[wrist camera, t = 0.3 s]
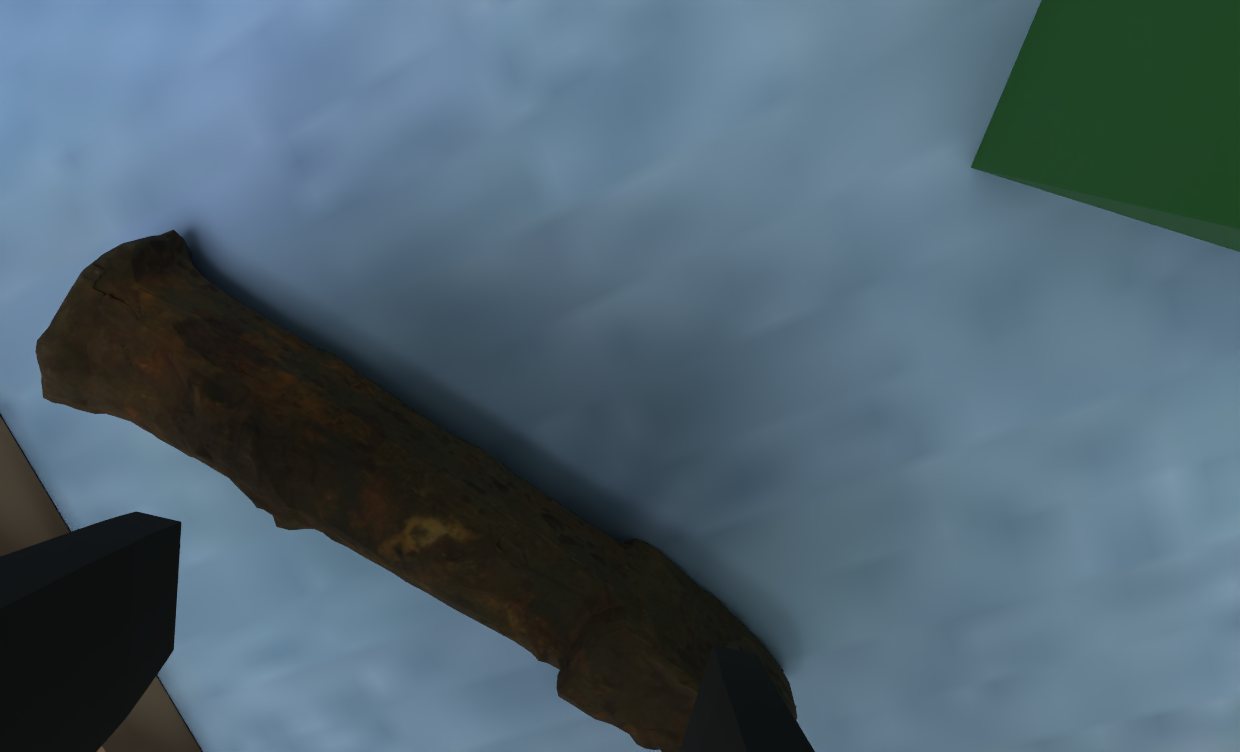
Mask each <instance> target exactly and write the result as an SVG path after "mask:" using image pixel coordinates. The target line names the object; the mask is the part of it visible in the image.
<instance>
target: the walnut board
mask: <svg viewBox="0 0 1240 752" xmlns="http://www.w3.org/2000/svg"><path fill="white" fill-rule="evenodd" d="M67 533H70V531H69V530H68V528H67V526H66V525H65V523H64V521H63V520H62V518H61V516H60V515H59V513H58V511H57V510H56V508H55V506H54V505H53V503H52V501H51V500H50V498H49V496H48V495H47V493H46V491H45V490H44V488H43V486H42V485H41V483H40V481H39V480H38V478H37V476H36V475H35V473H34V471H33V470H32V468H31V466H30V465H29V463H28V461H27V460H26V458H25V456H24V455H23V453H22V451H21V450H20V448H19V446H18V445H17V443H16V441H15V440H14V438H13V436H12V435H11V433H10V431H9V430H8V428H7V426H6V425H5V423H4V421H3V420H2V418H1V416H0V557H1V556H3V555H6V554H9V553H12V552H15V551H18V550H21V549H24V548H27V547H29V546H32V545H35V544H38V543H41V542H44V541H47V540H49V539H52V538H55V537H58V536H61V535H64V534H67ZM97 752H202V751H201V750H200V748H199V746H198V745H197V743H196V741H195V740H194V738H193V736H192V735H191V733H190V731H189V730H188V728H187V726H186V725H185V723H184V721H183V720H182V718H181V716H180V715H179V713H178V711H177V710H176V708H175V706H174V705H173V703H172V701H171V700H170V698H169V696H168V695H167V693H166V691H165V690H164V688H163V686H162V685H161V683H160V681H159V680H158V678H157V676H156V677H155V678H154V680H153V681H152V683H151V684H150V686H149V687H148V689H147V690H146V691H145V693H144V694H143V696H142V697H141V698H140V700H139V701H138V702H137V704H136V705H135V707H134V708H133V709H132V711H131V712H130V714H129V715H128V716H127V718H126V719H125V720H124V721H123V722H122V723H121V725H120V726H119V727H118V728H117V729H116V730H115V732H114V733H113V734H112V735H111V736H110V737H109V738H108V739H107V741H106V742H105V743H104V744H103V745H102V746H101V747H100V748H99V750H98V751H97Z"/></svg>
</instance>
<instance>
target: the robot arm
mask: <svg viewBox="0 0 1240 752" xmlns="http://www.w3.org/2000/svg"><path fill="white" fill-rule="evenodd" d="M180 536H181V522H180V521H175V520H171V519H167V518H162V517H158V516H153V515H149V514H145V513H140V512H133V513H129V514H126V515H122V516H118V517H115V518H112V519H108V520H105V521H102V522H99V523H96V524H93V525H90V526H87V527H84V528H81V529H78V530H75V531H72V532H70V533H67V534H64V535H61V536H58V537H55V538H52V539H49V540H47V541H44V542H41V543H38V544H35V545H32V546H29V547H27V548H24V549H21V550H18V551H15V552H12V553H9V554H6V555H3V556H1V557H0V752H97V751H98V750H99V748H100V747H101V746H102V745H103V744H104V743H105V742H106V741H107V739H108V738H109V737H110V736H111V735H112V734H113V733H114V732H115V730H116V729H117V728H118V727H119V726H120V725H121V723H122V722H123V721H124V720H125V719H126V718H127V716H128V715H129V714H130V712H131V711H132V709H133V708H134V707H135V705H136V704H137V702H138V701H139V700H140V698H141V697H142V696H143V694H144V693H145V691H146V690H147V689H148V687H149V686H150V684H151V683H152V681H153V680H154V678H155V677H156V675H157V674H158V672H159V671H160V669H161V668H162V666H163V665H164V663H165V662H166V661H167V659H168V658H169V656H170V655H171V653H172V652H173V650H174V635H175V619H176V602H177V586H178V569H179V553H180ZM680 752H815V751H814V749H813V748H812V746H811V744H810V743H809V741H808V740H807V738H806V736H805V735H804V733H803V731H802V730H801V728H800V726H799V724H798V723H797V721H796V719H795V718H794V716H793V714H792V713H791V711H790V709H789V707H788V706H787V704H786V702H785V701H784V699H783V697H782V695H781V694H780V692H779V690H778V688H777V687H776V685H775V683H774V682H773V680H772V678H771V676H770V675H769V673H768V671H767V670H766V668H765V666H764V664H763V663H762V661H761V659H760V658H759V656H758V654H753V653H749V652H745V651H740V650H736V649H732V648H727V647H723V646H719V645H714V644H713V645H712V648H711V652H710V655H709V658H708V661H707V665H706V668H705V671H704V674H703V678H702V681H701V684H700V687H699V690H698V694H697V697H696V700H695V703H694V707H693V710H692V713H691V716H690V720H689V723H688V726H687V729H686V733H685V736H684V739H683V742H682V746H681V749H680Z"/></svg>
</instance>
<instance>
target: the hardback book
mask: <svg viewBox="0 0 1240 752" xmlns="http://www.w3.org/2000/svg"><path fill="white" fill-rule="evenodd" d="M971 168H975V169H978V170H981V171H984V172H987V173H990V174H994V175H997V176H1000V177H1003V178H1006V179H1010V180H1013V181H1016V182H1019V183H1022V184H1026V185H1029V186H1032V187H1035V188H1038V189H1041V190H1045V191H1048V192H1051V193H1054V194H1057V195H1061V196H1064V197H1067V198H1070V199H1073V200H1076V201H1080V202H1083V203H1086V204H1089V205H1092V206H1096V207H1099V208H1102V209H1105V210H1108V211H1112V212H1115V213H1118V214H1121V215H1124V216H1127V217H1131V218H1134V219H1137V220H1140V221H1143V222H1147V223H1150V224H1153V225H1156V226H1159V227H1163V228H1166V229H1169V230H1172V231H1175V232H1178V233H1182V234H1185V235H1188V236H1191V237H1194V238H1198V239H1201V240H1204V241H1207V242H1210V243H1213V244H1217V245H1220V246H1223V247H1226V248H1229V249H1233V250H1236V251H1239V252H1240V0H1042V1H1041V3H1040V6H1039V8H1038V11H1037V13H1036V15H1035V18H1034V20H1033V22H1032V25H1031V27H1030V29H1029V32H1028V34H1027V36H1026V39H1025V41H1024V44H1023V46H1022V48H1021V51H1020V53H1019V55H1018V58H1017V60H1016V62H1015V65H1014V67H1013V69H1012V72H1011V74H1010V77H1009V79H1008V81H1007V84H1006V86H1005V88H1004V91H1003V93H1002V95H1001V98H1000V100H999V102H998V105H997V107H996V110H995V112H994V114H993V117H992V119H991V121H990V124H989V126H988V128H987V131H986V133H985V135H984V138H983V140H982V143H981V145H980V147H979V150H978V152H977V154H976V157H975V159H974V161H973V164H972V166H971Z"/></svg>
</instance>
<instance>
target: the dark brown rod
mask: <svg viewBox="0 0 1240 752" xmlns="http://www.w3.org/2000/svg"><path fill="white" fill-rule="evenodd" d="M36 354H37V360H38V364H39V367H40V371H41V375H42V378H41V383H42V389H43V398H45V399H47V400H49V401H51V402H54V403H59V404H64V405H67V406H70V407H72V408H75V409H78V410H82V411H86V412H90V413H94V414H105V413H106V414H109V415H112V416H115V417H119V418H122V419H125V420H128V421H131V422H133V423H134V424H136V425H138V426H139V427H141V428H142V429H144V430H146V431H148V432H150V433H152V434H153V435H155V436H156V437H157V438H158V439H160V440H162V441H164V442H166V443H167V444H169V445H171V446H173V447H175V448H177V449H178V450H180V451H182V452H183V453H185V454H186V455H188V456H190V457H194V458H196V459H198V460H199V461H201V462H203V463H205V464H206V465H208V466H210V467H211V468H213V469H215V470H216V471H218V472H220V473H221V474H223V475H225V476H227V477H228V478H230V480H231V481H232V482H233V483H234V484H235V485H236V486H237V487H238V488H239V489H240V490H241V491H242V492H243V493H244V494H245V495H246V496H247V497H248V498H249V499H250V500H251V501H252V502H253V503H254V505H255V506H256V507H257V508H260V509H264V510H265V511H267V512H268V513H270V514H271V515H273V517H274V520H275V523H276V526H277V527H280V528H284V529H288V530H298V529H316V530H318V531H320V532H323V533H324V534H325V535H327V536H328V537H329V538H331V539H332V540H334V541H336V542H338V543H340V544H342V545H344V546H347V547H349V548H350V549H352V550H353V551H355V552H357V553H358V554H360V555H362V556H363V557H365V558H367V559H369V560H371V561H372V562H374V563H376V564H378V565H380V566H382V567H383V568H385V569H387V570H389V571H391V572H393V573H394V574H395V575H397V576H398V577H400V578H401V579H403V580H404V581H406V582H408V583H410V584H411V585H413V586H415V587H417V588H419V589H421V590H423V591H424V592H426V593H428V594H430V595H432V596H433V597H435V598H437V599H438V600H440V601H442V602H443V603H445V604H447V605H448V606H450V607H452V608H453V609H455V610H457V611H459V612H461V613H463V614H465V615H466V616H468V617H470V618H472V619H474V620H476V621H478V622H480V623H481V624H483V625H485V626H487V627H489V628H491V629H493V630H495V631H496V632H498V633H500V634H502V635H503V636H506V637H508V638H509V639H511V640H513V641H515V642H516V643H518V644H519V645H521V646H522V647H524V648H525V649H527V650H528V651H530V652H531V653H532V654H533V655H534V656H535V657H536V658H537V659H538V661H541V662H545V663H549V664H551V665H552V666H554V667H556V668H558V669H560V671H559V673H558V677H557V692H558V696H559V697H561V698H562V699H564V700H566V701H567V702H569V703H570V704H572V705H574V706H575V707H577V708H578V709H580V710H581V711H583V712H585V713H586V714H588V715H589V716H591V717H593V718H594V719H596V720H600V721H603V722H606V723H609V724H612V725H614V726H616V727H618V728H619V729H621V730H623V731H625V732H626V733H628V734H630V736H631V737H632V738H633V740H634V741H635V742H636V744H638V745H640V746H641V747H643V748H646V749H652V750H658V749H660V750H661V751H662V752H680V749H681V746H682V742H683V739H684V736H685V733H686V729H687V726H688V723H689V720H690V716H691V713H692V710H693V707H694V703H695V700H696V697H697V694H698V690H699V687H700V684H701V681H702V678H703V674H704V671H705V668H706V665H707V661H708V658H709V655H710V652H711V648H712V645H713V644H714V645H719V646H723V647H727V648H732V649H736V650H740V651H745V652H749V653H753V654H758V656H759V658H760V659H761V661H762V663H763V664H764V666H765V668H766V670H767V671H768V673H769V675H770V676H771V678H772V680H773V682H774V683H775V685H776V687H777V688H778V690H779V692H780V694H781V695H782V697H783V699H784V701H785V702H786V704H787V706H788V707H789V709H790V711H791V713H792V714H793V716H794V718H795V719H797V714H796V706H795V704H794V700H793V696H792V691H791V687H790V684H789V682H788V680H787V678H786V676H785V675H784V673H783V670H781V668H780V666H779V665H778V663H777V662H776V661H775V659H774V658H773V657H772V656H771V655H770V653H769V652H768V651H767V649H766V648H765V646H764V645H763V644H762V643H761V642H760V641H759V640H757V639H756V638H755V637H754V636H753V635H752V634H751V633H750V632H749V630H748V629H747V628H746V627H745V626H744V625H743V624H742V623H741V622H740V621H739V620H738V619H737V618H736V617H734V616H733V615H732V614H731V613H730V612H729V611H728V609H727V608H726V607H725V606H724V605H723V604H722V603H721V602H720V601H718V600H717V599H716V598H715V597H714V596H712V595H709V594H707V593H706V592H705V591H703V590H702V589H701V588H700V587H699V586H698V585H697V584H696V583H694V582H693V581H692V580H691V579H690V578H689V577H688V576H687V575H686V574H685V573H684V572H683V571H681V570H680V569H679V568H678V567H677V566H676V565H675V564H673V563H672V562H671V561H670V560H669V559H668V558H667V557H665V556H664V555H663V554H662V553H661V552H660V551H658V550H657V549H655V548H654V547H652V546H650V545H649V544H647V543H645V542H643V541H640V540H637V539H634V540H631V541H628V542H624V543H621V542H618V541H616V540H615V539H613V538H612V537H610V536H609V535H607V534H606V533H604V532H603V531H601V530H599V529H597V528H595V527H594V526H592V525H590V524H588V523H586V522H585V521H583V520H582V519H580V518H579V517H578V516H576V515H575V514H573V513H572V512H570V511H569V510H567V509H566V508H564V507H563V506H561V505H560V504H559V503H557V502H556V501H554V500H553V499H552V498H550V497H549V496H547V495H546V494H544V493H542V492H541V491H539V490H538V489H536V488H535V487H533V486H532V485H530V484H528V483H527V482H525V481H524V480H522V479H520V478H519V477H517V476H516V475H514V474H513V473H511V472H510V471H509V470H508V469H507V468H506V467H505V466H504V465H503V464H501V463H500V462H499V461H497V460H496V459H494V458H493V457H491V456H490V455H489V454H487V453H485V452H484V451H482V450H481V449H479V448H478V447H476V446H474V445H472V444H469V443H467V442H465V441H463V440H460V439H458V438H457V437H455V436H453V435H451V434H450V433H448V432H446V431H445V430H443V429H442V428H440V427H439V426H437V425H436V424H434V423H433V422H431V421H430V420H428V419H427V418H425V417H424V416H422V415H421V414H419V413H417V412H416V411H414V410H412V409H411V408H409V407H408V406H406V405H405V404H404V403H402V402H401V401H399V400H398V399H397V398H395V397H394V396H393V395H391V394H390V393H388V392H387V391H385V390H384V389H382V388H381V387H380V386H378V385H377V384H376V383H374V382H372V381H371V380H369V379H367V378H366V377H364V376H362V375H361V374H359V373H358V372H356V371H355V370H354V369H353V368H351V367H350V366H349V365H347V364H346V363H345V362H344V361H342V360H341V359H340V358H338V357H337V356H336V355H333V354H331V353H328V352H326V351H323V350H320V349H318V348H315V347H314V346H312V345H311V344H309V343H308V342H306V341H304V340H303V339H301V338H300V337H298V336H297V335H295V334H293V333H291V332H289V331H287V330H286V329H284V328H283V327H281V326H279V325H278V324H276V323H274V322H273V321H271V320H269V319H268V318H266V317H264V316H263V315H261V314H259V313H258V312H256V311H254V310H252V309H251V308H249V307H247V306H246V305H244V304H242V303H240V302H239V301H237V300H235V299H234V298H232V297H230V296H229V295H228V294H226V293H225V292H223V291H222V290H220V289H219V288H218V287H216V286H215V285H214V284H212V283H211V282H209V281H208V280H207V279H205V278H204V277H203V276H202V275H201V274H200V273H199V272H198V271H197V269H196V268H195V267H194V266H193V265H192V264H191V253H190V251H189V248H188V247H187V245H186V243H185V241H184V239H183V238H182V237H181V236H180V235H179V234H178V233H177V232H176V231H174V230H172V231H169V232H167V233H164V234H162V235H158V236H150V237H146V238H142V239H138V240H134V241H130V242H126V243H123V244H121V245H119V246H117V247H115V248H114V249H112V250H110V251H108V252H106V253H105V254H103V255H101V256H100V257H99V258H98V259H97V260H95V261H94V262H93V263H92V264H90V265H89V266H88V267H86V268H85V269H84V270H83V271H82V272H81V274H80V275H79V277H78V279H77V280H76V282H75V283H74V285H73V286H72V288H71V290H70V291H69V293H68V295H67V296H66V298H65V300H64V301H63V303H62V305H61V307H60V308H59V310H58V311H57V313H56V315H55V317H54V318H53V320H52V322H51V324H50V326H49V327H48V328H47V330H46V331H45V332H44V333H43V334H42V335H41V337H40V338H39V339H38V340H37V345H36Z"/></svg>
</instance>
